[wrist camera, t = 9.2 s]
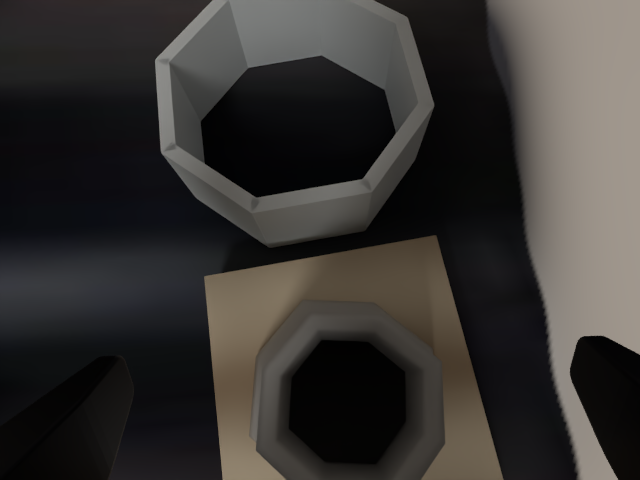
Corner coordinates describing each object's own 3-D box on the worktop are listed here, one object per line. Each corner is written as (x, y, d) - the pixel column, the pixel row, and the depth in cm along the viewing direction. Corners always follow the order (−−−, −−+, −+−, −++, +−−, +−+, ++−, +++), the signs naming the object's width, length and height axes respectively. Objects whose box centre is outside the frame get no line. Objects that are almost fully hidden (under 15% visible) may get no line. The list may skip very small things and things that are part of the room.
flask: (218, 450, 16) (47, 551, 7) (291, 273, 18) (240, 154, 9) (405, 533, 15) (522, 794, 6) (460, 335, 17) (615, 278, 8)
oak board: (496, 513, 17) (517, 530, 15) (244, 561, 17) (232, 584, 15) (426, 248, 20) (436, 235, 18) (216, 286, 20) (204, 276, 18)
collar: (431, 219, 21) (456, 177, 16) (201, 260, 20) (166, 228, 16) (381, 36, 24) (390, -38, 20) (184, 69, 24) (151, 2, 20)
